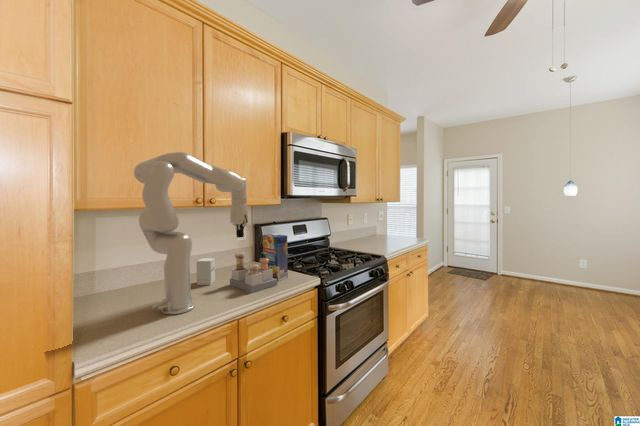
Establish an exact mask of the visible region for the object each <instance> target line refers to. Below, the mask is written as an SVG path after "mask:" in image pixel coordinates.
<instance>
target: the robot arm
mask: <svg viewBox="0 0 640 426" xmlns="http://www.w3.org/2000/svg"><path fill="white" fill-rule="evenodd" d="M175 174H182V175H183V176H187V177H189V178H191V179H194V180H196V181H198V182H199V183H203V184H208V185H209V184H210V185H214V186H215V188H216V189H217V191H219V192H222V193H230V195H231V198H230V199H231V204H230V214H229V216H230V217H229V218H230V220H229V222H230V224H232V225H233V226H235V230H236V231H235V232H236V238H237V239H239V238H240V239H241V238H244V237H245V236H244V235H245V234H244V230H245V227H247V225H248V222H249V210H248V205H247V204H248V202H247V201H248V200H247V199H248V198H247V197H248V196H247V179H246V178H245V177H242V176H239V175H238V174H236V173H234V172H232V171H231V170H227V169H224V168H220V167H218V166H214V165H211V164H208V163H206V162H204V160H201V159H199V158H197V157H195V156H193V155H191V154H189V153H187V152H184V151H177V152H176V151H175V152H168V153H164V154H162V155H158V156H155V157H154V158H150V159H148V160H145V161H141V162H140V163H137V165H136V166H135V168H134V170H133V175H134V178H135V179H136V180H137V181H138V182H139V183H141V184H144V185H143V188H142V194H141V195H142V201H143V204H144V205H145V206H144V207H145V209H144V210H142V211H141V212H140V214H139V217H138V223H139V228H140V229H141V232H142V233H143V236H144V238H145V240H146V241H147V243H148V245H149V247H150V248H151V250H152V251H154V252H155V253H157V254H161V255H162V254H163V255H166V257H165V261H164V264H163V274H164V275H163V276H164V277H163V278H164V280H163V281H164V298H162V301H161V302H159V303H155V304H152V305H151V310H152V311H154V310H157V311H160V312H161V313H162V314H164V315H179V314H180V315H181V314H184V313H187V312H190V311H192V310H193V309H195V307H196V302H195V301H193V300H192V293H191V290H192V287H191V254H192V253H191V252H192V248H193V242H192V239H191V237H190V236H189V235H188V234H187V233H185V232H181V231H175V230H177V229H178V226H179V224H180V223H179V218H178V215H177V213H176V211H175V208H174V207H173V204H172V201H171V200H170V196H169V187H170V184H171V182H172V181H173V179H174V177H175Z"/></svg>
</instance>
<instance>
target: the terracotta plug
mask: <svg viewBox="0 0 640 426" xmlns="http://www.w3.org/2000/svg"><path fill="white" fill-rule="evenodd" d="M268 262H269V258H263V257H260V258H259V263H260V269H261V271H266V270H268Z"/></svg>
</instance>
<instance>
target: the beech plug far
mask: <svg viewBox="0 0 640 426" xmlns="http://www.w3.org/2000/svg"><path fill="white" fill-rule="evenodd" d="M245 254H246V253H245V252H235V253H234V258H236V259H235V260H236V262H235V263H236V266H235V267H236V269H237V270H238V271H240V270H244V268H245V267H244V266H245V265H244V263H245V262H244V258H245V256H246V255H245Z"/></svg>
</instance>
